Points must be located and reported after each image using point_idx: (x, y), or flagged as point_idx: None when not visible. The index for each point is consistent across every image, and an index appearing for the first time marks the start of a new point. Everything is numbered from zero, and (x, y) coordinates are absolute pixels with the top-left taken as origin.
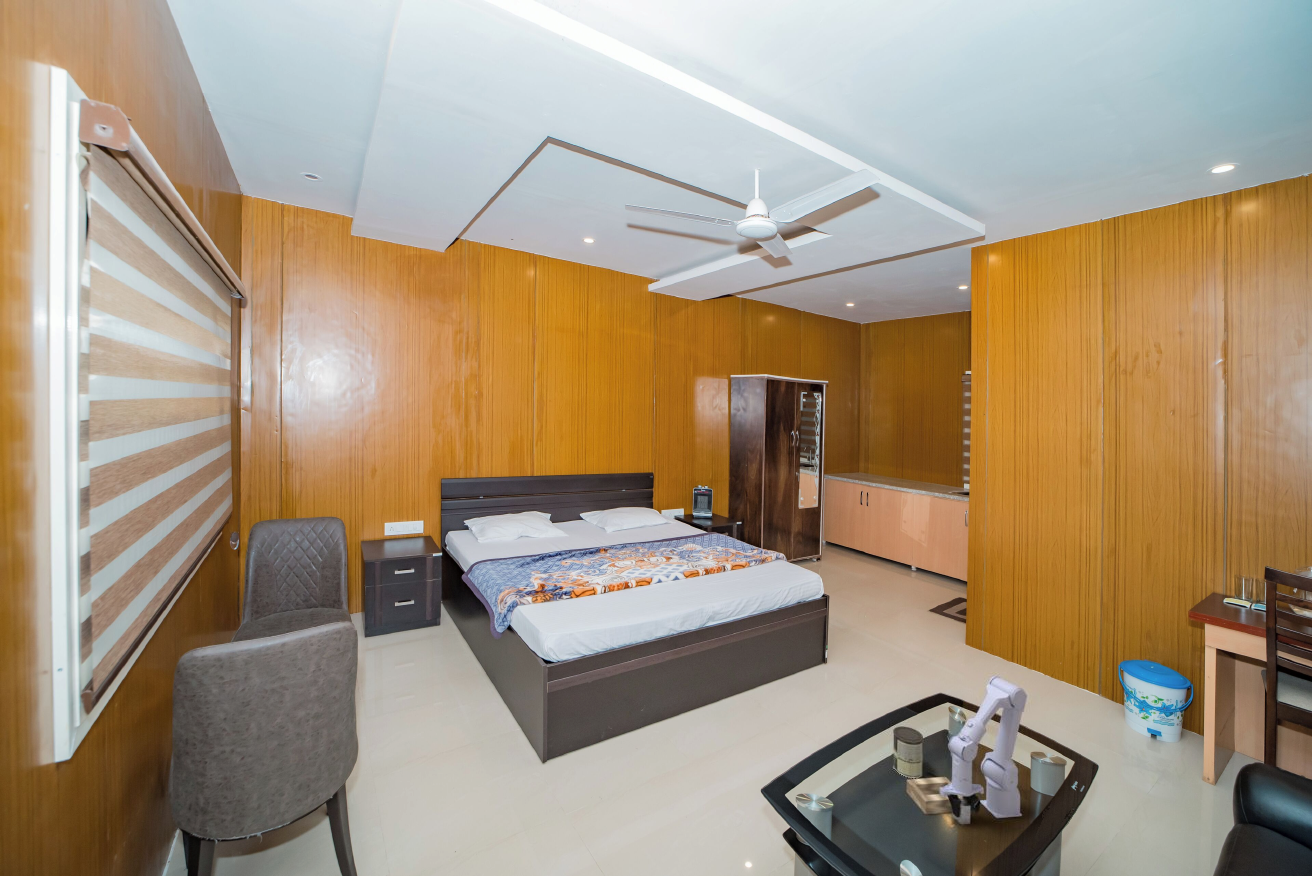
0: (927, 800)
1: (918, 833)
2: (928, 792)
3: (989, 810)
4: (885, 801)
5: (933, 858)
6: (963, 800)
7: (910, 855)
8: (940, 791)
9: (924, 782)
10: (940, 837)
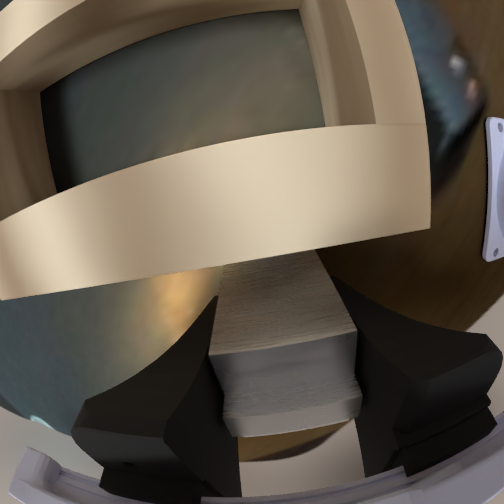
0: (8, 290)
1: (40, 362)
2: (114, 36)
3: (490, 208)
4: None
5: None
6: (310, 425)
7: (41, 413)
8: (28, 475)
9: (41, 12)
10: None
